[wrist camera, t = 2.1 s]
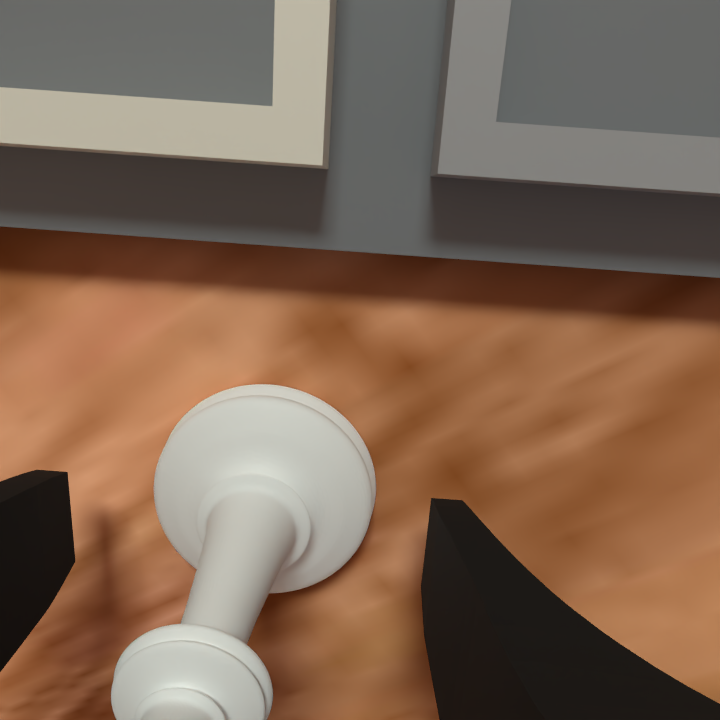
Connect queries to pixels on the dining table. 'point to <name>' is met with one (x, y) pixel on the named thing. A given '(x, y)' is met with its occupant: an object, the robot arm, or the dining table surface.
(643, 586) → the dining table surface
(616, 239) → the socket board
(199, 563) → the chess piece
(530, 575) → the robot arm
